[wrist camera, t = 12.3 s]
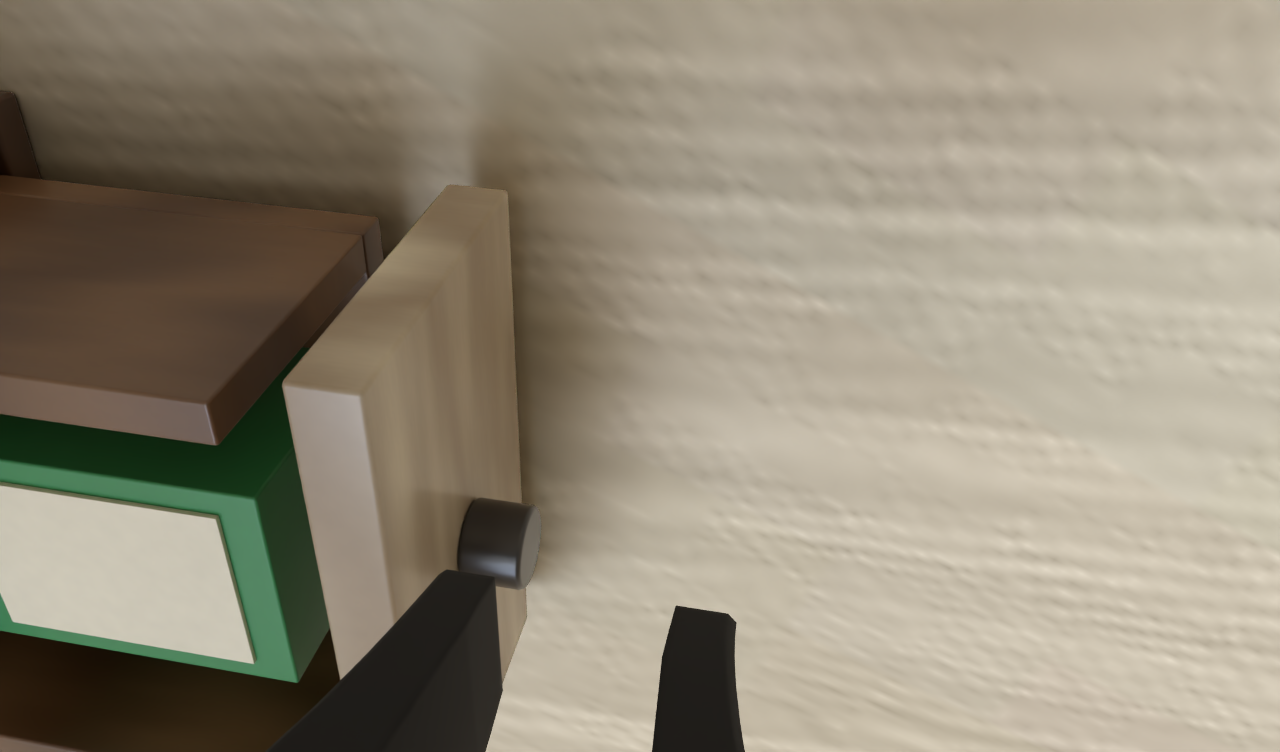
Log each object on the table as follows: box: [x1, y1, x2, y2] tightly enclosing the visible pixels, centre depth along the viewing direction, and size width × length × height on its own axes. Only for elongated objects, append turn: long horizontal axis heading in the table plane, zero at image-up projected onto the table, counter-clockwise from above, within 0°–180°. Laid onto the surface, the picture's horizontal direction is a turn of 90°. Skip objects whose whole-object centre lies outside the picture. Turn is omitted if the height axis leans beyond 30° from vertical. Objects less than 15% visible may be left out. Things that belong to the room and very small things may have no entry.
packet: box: [0, 347, 330, 683], centre depth 21 cm, size 5×6×5 cm
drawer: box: [0, 175, 541, 752], centre depth 21 cm, size 14×11×7 cm
